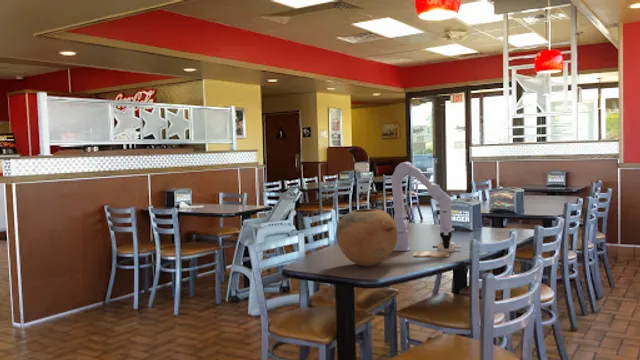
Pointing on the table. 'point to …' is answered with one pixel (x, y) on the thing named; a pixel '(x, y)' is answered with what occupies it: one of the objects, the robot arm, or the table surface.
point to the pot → (366, 236)
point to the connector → (441, 249)
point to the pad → (430, 254)
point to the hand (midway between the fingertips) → (446, 247)
